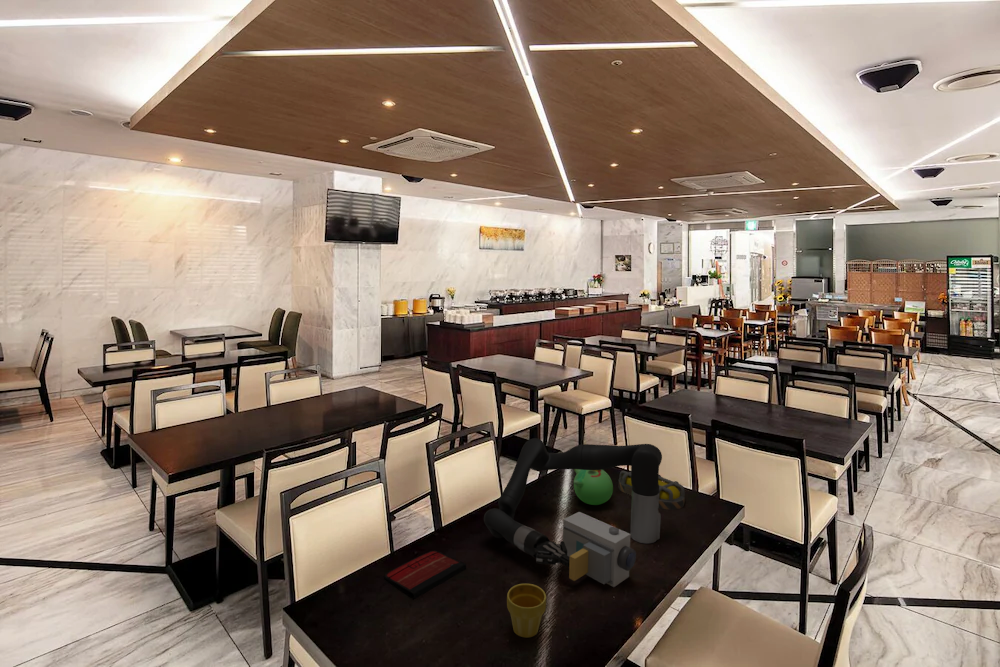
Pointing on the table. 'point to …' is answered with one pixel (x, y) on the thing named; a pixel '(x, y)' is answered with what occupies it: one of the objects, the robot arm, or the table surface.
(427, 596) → the table surface
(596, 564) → the door
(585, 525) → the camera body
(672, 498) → the cage light
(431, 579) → the binder
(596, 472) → the toy bird
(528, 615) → the plant pot
